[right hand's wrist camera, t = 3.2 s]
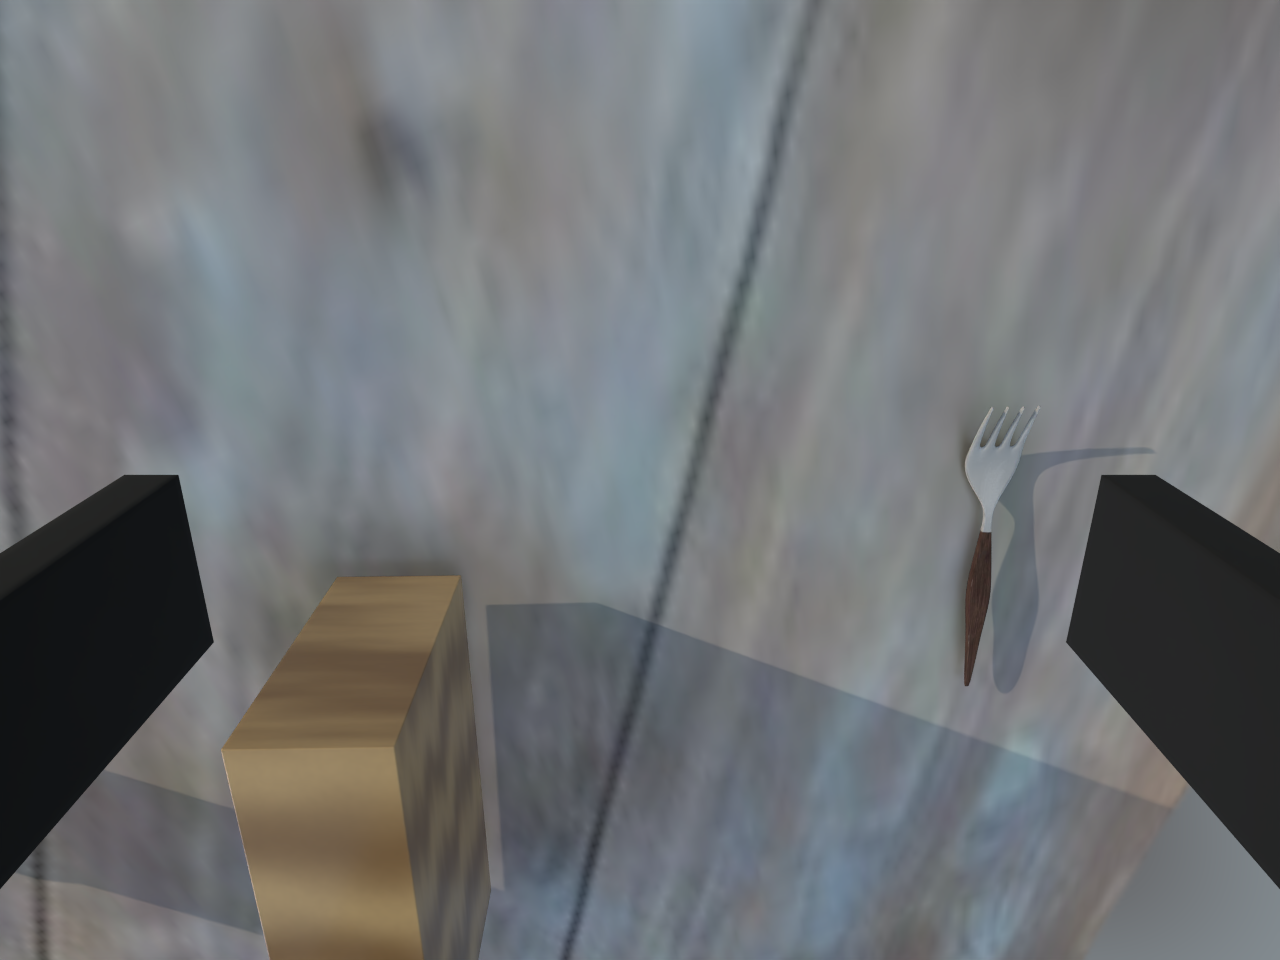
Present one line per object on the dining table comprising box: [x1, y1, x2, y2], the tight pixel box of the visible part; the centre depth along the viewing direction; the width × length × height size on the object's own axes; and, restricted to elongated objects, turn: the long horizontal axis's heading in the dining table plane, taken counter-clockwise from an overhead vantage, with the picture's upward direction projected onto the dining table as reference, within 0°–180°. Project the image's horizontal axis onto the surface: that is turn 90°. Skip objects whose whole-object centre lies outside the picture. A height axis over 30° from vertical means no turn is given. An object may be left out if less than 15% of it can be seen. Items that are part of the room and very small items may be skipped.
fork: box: [964, 406, 1041, 686], centre depth 42 cm, size 3×16×2 cm, turn 2°
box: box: [221, 575, 491, 960], centre depth 39 cm, size 20×6×13 cm, turn 0°
